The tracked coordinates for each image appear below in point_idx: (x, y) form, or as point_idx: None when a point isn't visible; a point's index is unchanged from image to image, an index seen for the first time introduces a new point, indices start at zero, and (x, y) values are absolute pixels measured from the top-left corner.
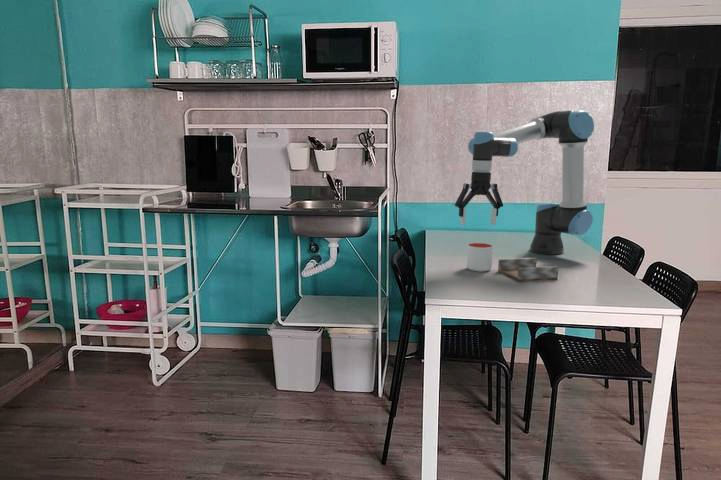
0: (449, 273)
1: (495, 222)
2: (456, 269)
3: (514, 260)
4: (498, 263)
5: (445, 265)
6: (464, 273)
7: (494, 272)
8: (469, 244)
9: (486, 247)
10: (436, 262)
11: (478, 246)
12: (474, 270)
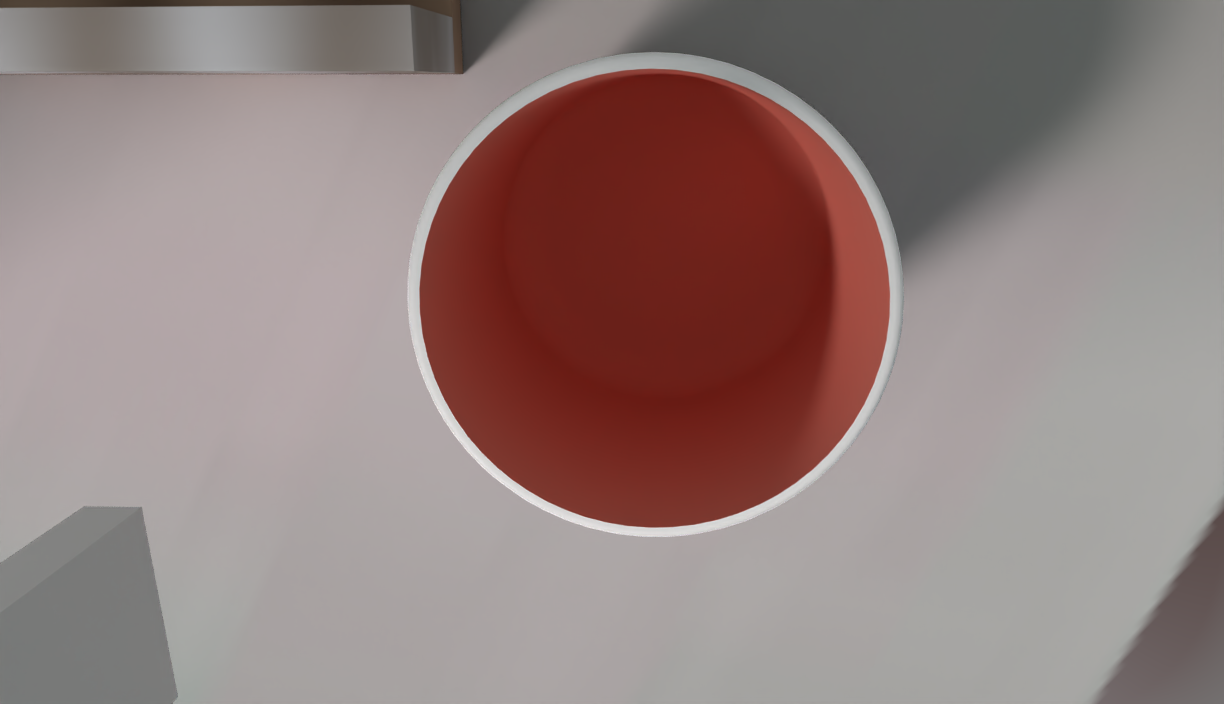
0: (1185, 100)
1: (41, 539)
2: (964, 294)
3: (173, 9)
4: (433, 71)
5: (994, 521)
6: (974, 59)
7: (533, 32)
8: (787, 483)
9: (473, 396)
10: (1024, 683)
11: (584, 487)
12: (783, 136)
